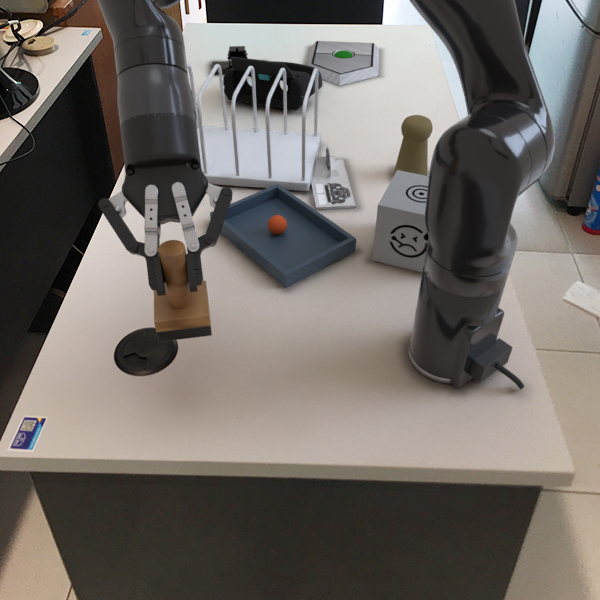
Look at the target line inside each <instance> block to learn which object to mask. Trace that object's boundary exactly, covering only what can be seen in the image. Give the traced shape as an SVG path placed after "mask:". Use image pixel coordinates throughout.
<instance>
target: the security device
mask: <svg viewBox="0 0 600 600" xmlns="http://www.w3.org/2000/svg"><path fill="white" fill-rule="evenodd" d="M305 65H307V66H311V67H314V68H317V69H318V71H319V72H320V73H321V77H322V81H325V82H327V83H331V84H333V85H336V86H339V87H341V86H344V85H349V84H352V83H356V82H361V81H365V80H368V79H372V78H377V77H379V76H380V75H379V74H380V72H379V71H380V48H379V47H378V46H377V45H376V44H375V43H374V42H359V41H358V42H357V41H333V40H332V41H331V40H315V42H314V43H313V44H312V45H311V46H310V48H309V52H308V56H307V61H306V64H305Z"/></svg>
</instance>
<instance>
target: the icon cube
mask: <svg viewBox="0 0 600 600" xmlns="http://www.w3.org/2000/svg"><path fill="white" fill-rule="evenodd" d="M428 180H429V175H427V176H425V175H420V174H415V173H410V172H405V171H400V170H397V171H396V173H395V175H394V176H393V177H392V178H391V180H390V182H389V184H388V185H387V188H386V189H385V191H384V193H383V195H382V196H381V198H380V200H379V202H378V203H377V209H376V221H375V231H374V240H373V250H372V258H371V259H372V260H371V261H373V262H376V263H382V264H385V265H389V266H394V267H398V268H401V269H406V270H409V271H413V272H418V273H421V274H422V272H423V267H424V262H425V256H426V250H427V244H428V237H429V236H428V233H427V230H426V225H425V207H426V198H427V189H428Z"/></svg>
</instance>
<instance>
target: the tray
mask: <svg viewBox="0 0 600 600" xmlns="http://www.w3.org/2000/svg"><path fill="white" fill-rule="evenodd" d="M212 214H213V211H211V212H209V220H211V217H212ZM275 215H280V216H282V217H284V218H285V220H286V222H287V228H286V230H285V231H284V232H283V233H282V234H278V235H276V234H273V233H271V232H270V230H269V229H268V221H269V219H270V218H271V217H273V216H275ZM220 235H222V236H223V237H225V238H226V239H227V240H228V241H229V242H231V243H232V245H234V246H235V247H236V248H238V249H239V250H240V251H241V252H242V253H243V254H245V255H246V256H247V257H248V258H250V259H251V260H252V261H253V262H255V263H256V265H258V266H259V267H260V268H261V269H263V270H264V271H265V272H266V273H267V274H269V276H271V278H273V279H274V280H275V281H277V282H278V283H279V284H280V285H282V286H283V287H284V288H288V287H290V286H292V285H294V284H295V283H297V282H299V281H301V280H303V279H306V278H307V277H309V276H311V275H313V274H315V273H317V272H319V271H320V270H322V269H324V268H326V267H328V266H330V265H332V264H333V263H335V262H337V261H339V260H341V259H343V258H345V257H348V255H351V254H353V253H354V252H356V250H357V238H356V236H353V235H352V234H351V233H349V232H348V231H346V230H345V229H344V228H342V227H341V226H339V225H338V224H337V223H335V222H334V221H332V220H331V219H329V218H328V217H326V216H325V215H324V214H322V213H321V212H319V211H318V210H316V208H313V207H312V206H311V205H309V204H308V203H306V202H305V201H303V200H302V199H300V198H299V197H297V196H296V195H294V194H293V193H292V192H290V190H286V189H285V188H283V187H282V186H280V185H279V184H276V185H274V186H271V187H269V188H263V189H262V190H260V191H257V192H255V193H252V194H251V195H248V196H245V197H243V198H241V199H239V200H236V201H233V202H231V204H230V207H229V209H228V212H227V215H226V218H225V221H224V224H223V226H222V229H221V232H220Z"/></svg>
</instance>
